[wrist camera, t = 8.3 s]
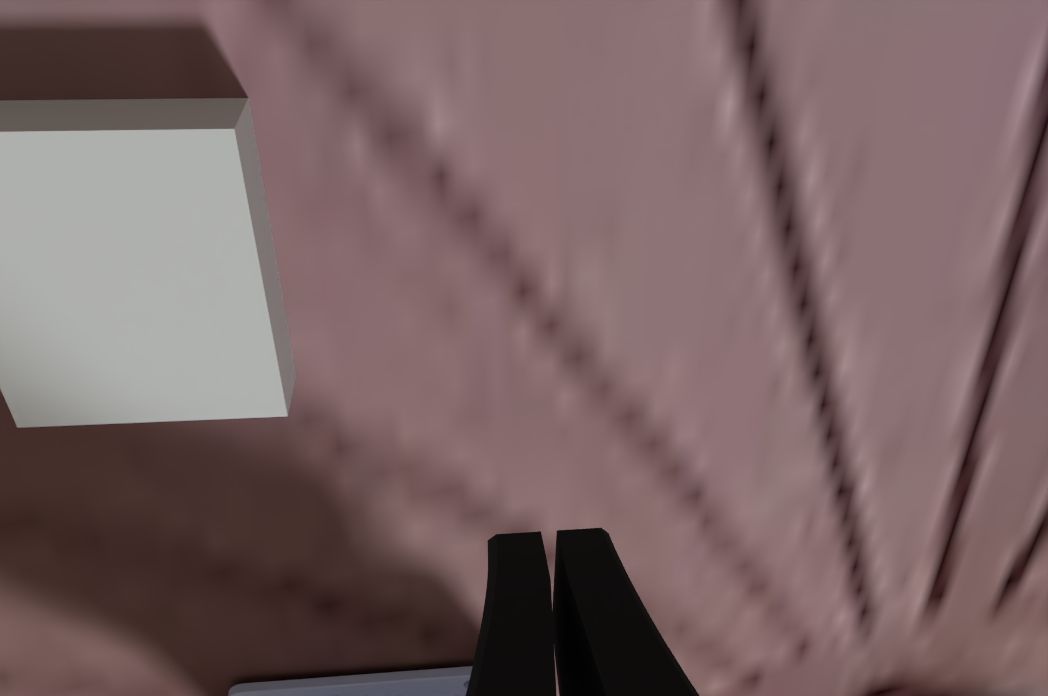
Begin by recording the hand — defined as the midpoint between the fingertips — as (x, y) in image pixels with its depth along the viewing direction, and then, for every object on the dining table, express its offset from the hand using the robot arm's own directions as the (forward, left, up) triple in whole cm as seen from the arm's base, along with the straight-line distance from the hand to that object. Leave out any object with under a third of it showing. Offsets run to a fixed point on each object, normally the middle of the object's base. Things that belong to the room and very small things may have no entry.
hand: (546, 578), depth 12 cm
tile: (+8, 0, -10) cm, 13 cm away
